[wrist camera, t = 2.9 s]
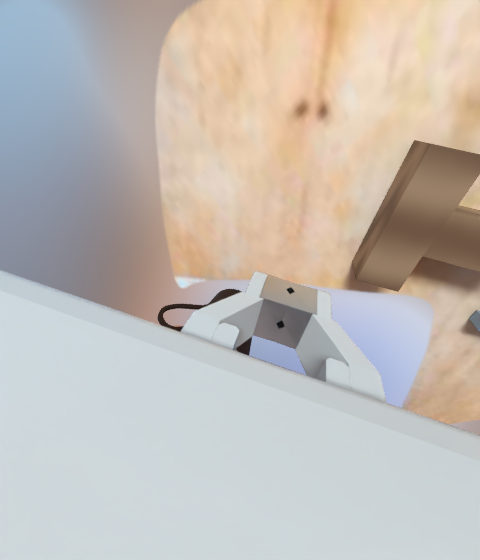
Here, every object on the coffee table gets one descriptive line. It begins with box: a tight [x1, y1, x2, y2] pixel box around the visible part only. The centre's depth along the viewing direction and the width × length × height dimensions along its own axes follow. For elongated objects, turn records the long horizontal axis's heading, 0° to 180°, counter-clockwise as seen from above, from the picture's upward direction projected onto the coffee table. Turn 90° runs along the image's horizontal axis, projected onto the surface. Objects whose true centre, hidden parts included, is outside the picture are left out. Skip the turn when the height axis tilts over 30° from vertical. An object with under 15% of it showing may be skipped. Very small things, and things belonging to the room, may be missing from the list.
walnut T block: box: [353, 140, 480, 292], centre depth 22 cm, size 12×12×4 cm
